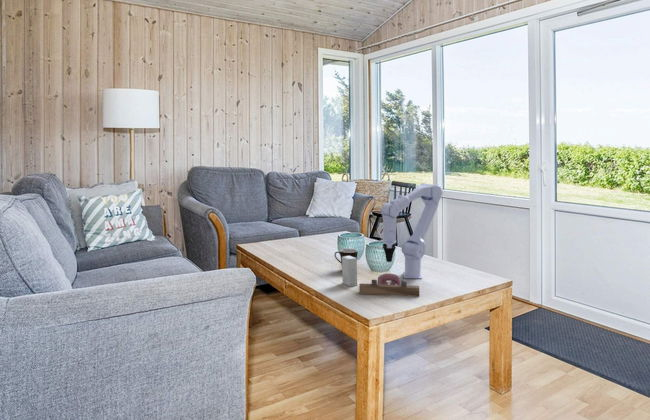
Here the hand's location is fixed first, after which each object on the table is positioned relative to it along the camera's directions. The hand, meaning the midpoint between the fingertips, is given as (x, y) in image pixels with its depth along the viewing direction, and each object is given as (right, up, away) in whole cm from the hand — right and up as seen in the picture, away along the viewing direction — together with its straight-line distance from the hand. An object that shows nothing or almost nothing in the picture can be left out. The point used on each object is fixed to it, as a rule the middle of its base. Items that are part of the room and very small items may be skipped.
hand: (389, 260), depth 201 cm
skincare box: (-18, -10, -3) cm, 21 cm away
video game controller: (-1, -11, -8) cm, 13 cm away
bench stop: (-2, -12, -16) cm, 20 cm away
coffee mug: (-18, -7, +20) cm, 28 cm away
